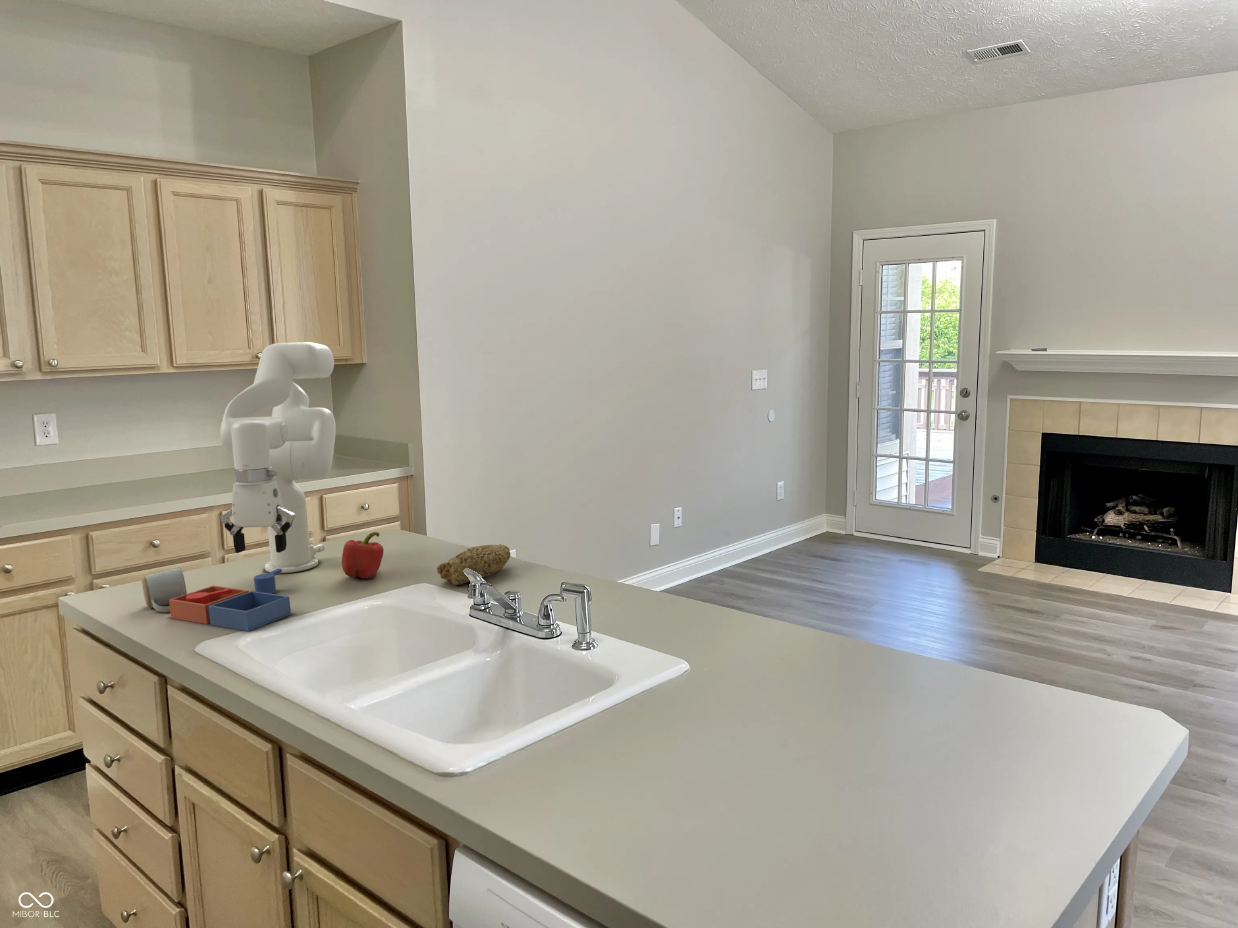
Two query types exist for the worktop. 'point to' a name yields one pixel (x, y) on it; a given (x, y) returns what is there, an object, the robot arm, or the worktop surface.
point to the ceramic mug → (163, 588)
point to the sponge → (474, 562)
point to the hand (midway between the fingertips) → (260, 551)
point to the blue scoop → (266, 582)
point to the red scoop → (206, 596)
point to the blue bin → (249, 610)
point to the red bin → (199, 605)
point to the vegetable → (362, 557)
